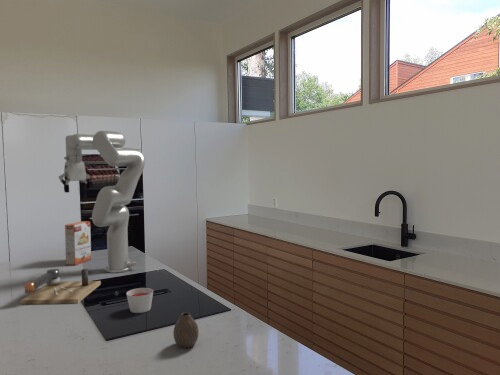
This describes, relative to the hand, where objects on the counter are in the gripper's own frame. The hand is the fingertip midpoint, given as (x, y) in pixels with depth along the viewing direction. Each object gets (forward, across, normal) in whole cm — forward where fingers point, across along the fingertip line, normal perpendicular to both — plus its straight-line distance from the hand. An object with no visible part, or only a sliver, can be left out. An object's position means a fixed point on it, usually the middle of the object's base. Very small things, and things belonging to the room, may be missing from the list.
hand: (75, 191), depth 208 cm
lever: (+33, -40, -38) cm, 64 cm away
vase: (+38, -43, -116) cm, 130 cm away
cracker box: (+37, 0, -1) cm, 37 cm away
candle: (+38, -31, -84) cm, 97 cm away
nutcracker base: (+37, -35, -44) cm, 67 cm away
